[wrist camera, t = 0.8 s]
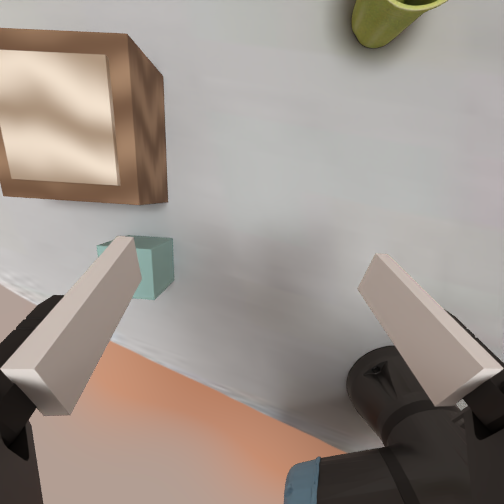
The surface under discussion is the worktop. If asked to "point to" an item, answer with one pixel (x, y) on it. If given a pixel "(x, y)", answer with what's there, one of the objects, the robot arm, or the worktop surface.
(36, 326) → the robot arm
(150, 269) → the teal cube
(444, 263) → the worktop surface
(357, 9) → the plant pot
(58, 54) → the walnut block
